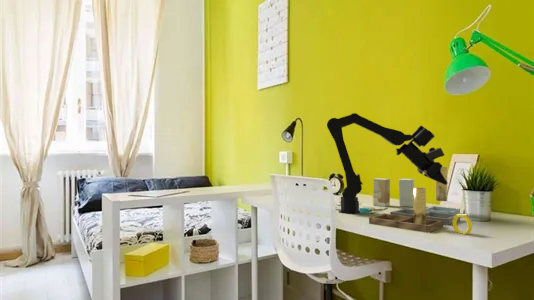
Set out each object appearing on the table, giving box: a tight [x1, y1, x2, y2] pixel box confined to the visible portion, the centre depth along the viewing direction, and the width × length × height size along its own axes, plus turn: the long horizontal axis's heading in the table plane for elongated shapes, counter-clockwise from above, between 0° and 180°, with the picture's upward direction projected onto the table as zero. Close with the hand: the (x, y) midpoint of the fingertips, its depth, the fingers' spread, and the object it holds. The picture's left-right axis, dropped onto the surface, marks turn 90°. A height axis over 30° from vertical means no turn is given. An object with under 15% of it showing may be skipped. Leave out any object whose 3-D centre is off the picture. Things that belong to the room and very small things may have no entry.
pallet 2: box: [389, 208, 461, 226], centre depth 138 cm, size 21×11×2 cm, turn 44°
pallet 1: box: [368, 213, 444, 233], centre depth 128 cm, size 21×11×2 cm, turn 44°
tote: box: [426, 205, 461, 215], centre depth 147 cm, size 11×11×2 cm
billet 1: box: [412, 186, 427, 225], centre depth 124 cm, size 4×4×13 cm
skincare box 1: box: [372, 177, 391, 208], centre depth 170 cm, size 6×4×12 cm
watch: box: [452, 213, 473, 235], centre depth 115 cm, size 6×3×6 cm, turn 20°
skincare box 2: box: [398, 178, 415, 208], centre depth 168 cm, size 6×4×12 cm
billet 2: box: [435, 166, 448, 202], centre depth 147 cm, size 4×4×13 cm
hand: (445, 183), depth 147 cm, fingers closed on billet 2, 4 cm apart
